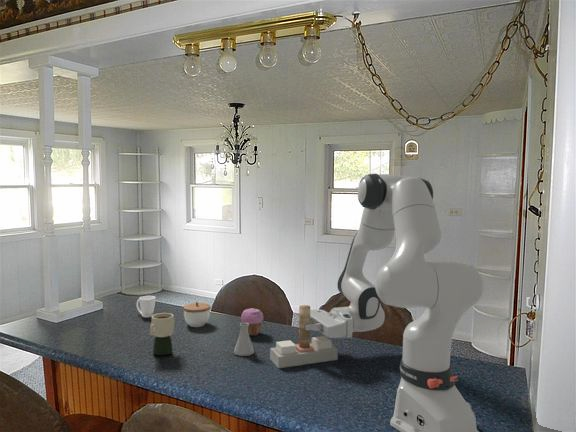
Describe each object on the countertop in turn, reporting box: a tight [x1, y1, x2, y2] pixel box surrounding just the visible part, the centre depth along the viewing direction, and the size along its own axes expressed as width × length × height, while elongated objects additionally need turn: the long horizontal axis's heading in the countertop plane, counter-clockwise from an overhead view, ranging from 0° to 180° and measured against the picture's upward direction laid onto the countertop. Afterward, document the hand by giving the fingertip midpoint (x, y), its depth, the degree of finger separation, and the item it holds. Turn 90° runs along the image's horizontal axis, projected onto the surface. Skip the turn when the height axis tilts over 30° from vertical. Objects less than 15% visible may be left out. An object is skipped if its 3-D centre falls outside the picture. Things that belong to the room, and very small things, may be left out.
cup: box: [135, 295, 157, 318], centre depth 188 cm, size 7×10×8 cm
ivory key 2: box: [311, 335, 333, 350], centre depth 145 cm, size 5×5×3 cm
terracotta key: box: [294, 343, 314, 353], centre depth 142 cm, size 5×5×3 cm
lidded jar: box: [183, 301, 211, 328], centre depth 176 cm, size 11×11×9 cm
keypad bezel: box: [269, 342, 339, 369], centre depth 142 cm, size 8×21×4 cm, turn 111°
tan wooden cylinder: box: [298, 304, 311, 348], centre depth 142 cm, size 4×4×13 cm
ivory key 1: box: [275, 339, 296, 355], centre depth 140 cm, size 5×5×3 cm
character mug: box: [149, 312, 176, 356], centre depth 145 cm, size 11×7×13 cm, turn 152°
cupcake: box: [240, 307, 264, 337], centre depth 166 cm, size 9×9×10 cm
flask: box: [233, 322, 255, 357], centre depth 147 cm, size 7×7×10 cm
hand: (301, 324), depth 141 cm, fingers closed on tan wooden cylinder, 4 cm apart
